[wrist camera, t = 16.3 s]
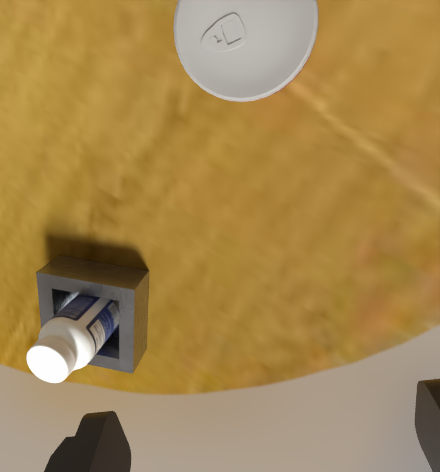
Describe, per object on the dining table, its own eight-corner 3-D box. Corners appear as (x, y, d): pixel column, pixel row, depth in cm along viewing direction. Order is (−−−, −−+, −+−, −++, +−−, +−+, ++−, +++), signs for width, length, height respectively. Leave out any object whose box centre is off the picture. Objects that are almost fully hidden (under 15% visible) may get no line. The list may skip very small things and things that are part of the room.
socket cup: (66, 330, 46) (43, 354, 42) (61, 253, 42) (36, 272, 38) (147, 346, 45) (132, 373, 40) (150, 269, 41) (134, 290, 37)
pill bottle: (71, 308, 43) (10, 365, 34) (91, 274, 41) (31, 327, 32) (111, 336, 43) (60, 400, 35) (133, 304, 41) (85, 364, 32)
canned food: (191, 38, 32) (144, 17, 22) (273, -37, 29) (262, -101, 19) (247, 116, 33) (227, 131, 23) (329, 52, 30) (348, 37, 20)
